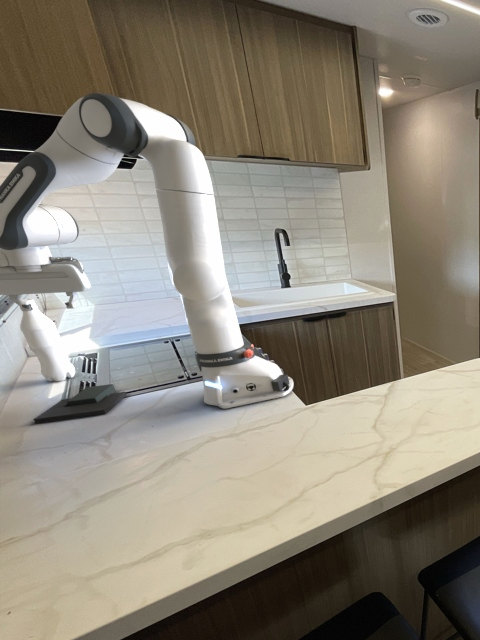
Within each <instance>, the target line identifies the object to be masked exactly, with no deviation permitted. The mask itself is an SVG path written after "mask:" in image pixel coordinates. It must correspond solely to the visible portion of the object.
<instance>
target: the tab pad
mask: <svg viewBox="0 0 480 640" xmlns="http://www.w3.org/2000/svg"><path fill="white" fill-rule="evenodd" d="M112 393H117V391H116V388H115V386H114V384H113V383H110V384H102V385H94V386H93V385H92V386H86V387H85V388H84V389H82V390H81V391H79V392H78V393H77V394H75V395H74V396H73V397H71V398H69V399H70V400H68V401H67V403H68V406H75V405H83V404H91V403H99V402H102V401H103V400H104V399H105V398H107V397H108V396H109V395H110V394H112Z"/></svg>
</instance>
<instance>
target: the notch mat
mask: <svg viewBox="0 0 480 640" xmlns="http://www.w3.org/2000/svg"><path fill="white" fill-rule="evenodd" d="M125 397H127V392H126V391H119V392H115V393H112V394H110V395H109V396H108V397H107V398H105V399H104V400H103V401H102V402H99V403H91V404H83V405H75V406H68V403H67V401H68V400H70V399H71V398H63V399H61V400H59V401H58V402H56V403H55V404H53V405H51V406H50V407H49V408H48V409H46V410H44V412H41V413H40V414H39V415H38V416H36V417H35V418H34V419H33V422H34V423H35V424H42V423H49V422H56V421H64V420H71V419H78V418H85V417H92V416H100V415H106V414H107V413H109V412H110V411H111V410H112V409H113V408H114V407H115V406H116V405H118V404H119V403H120V402H121V401H122V400H123V399H125Z"/></svg>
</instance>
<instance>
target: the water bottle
mask: <svg viewBox="0 0 480 640" xmlns="http://www.w3.org/2000/svg"><path fill="white" fill-rule="evenodd" d="M22 300H23V301H24V302H25V303H26V304H31V307H32V308H33V310H31V311H22V317H21V320H20V324H19V326H20V327H19V328H20V331H21V332H22V334H23V336H24V339H25V340H26V343H27V345H28V348H29V350H30V351H31V352H32V354H34V355H35V356H36V358H37V360H38V361H39V365H40V373H41V375H42V376H43V378H44V379H46V381H48V382H54V381H56V382H63V381H65V380H66V379H67V378H69V379H72V378H74V377H75V375H76V368H75V365H74V364H73V363H72V362H71V361H70V360H69V359H68V356H67V355H66V352H65V342H64V340H62V338H61V335H60V333H59V331H58V329H57V326H56V324H55V322H54V321H53V320H52V319H50V318H49V317H48V316H47V315H45V314H44V313H43V312H41V310H40V309H39V306H38V305H37V304H36V302H35V299H33V298H26V299H22ZM19 309H20V310H21V308H20V307H19Z"/></svg>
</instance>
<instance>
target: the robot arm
mask: <svg viewBox="0 0 480 640" xmlns="http://www.w3.org/2000/svg"><path fill="white" fill-rule="evenodd" d="M124 155H125V156H128V157H130V158H136V157H140V158H142V159H143V160H144V161H146V163H148V165H149V166H150V168H151V171H152V174H153V181H154V186H155V192H156V198H157V204H158V208H159V214H160V219H161V225H162V231H163V239H164V240H163V241H164V247H165V248H164V249H165V255H166V262H167V268H168V275H169V280H170V283H171V285H172V287H173V288H174V290H175V291H176V292H177V293H178V294H179V295H180V300H181V304H182V308H183V311H184V316H185V320H186V325H187V328H188V330H189V331H188V332H189V335H190V338H191V341H192V344H193V347H194V349H195V350H194V357H195V362H196V365H197V368H198V369H199V372H201V377H202V382H203V394H204V395H203V402H204V403H205V404H207V405H209V406H214V407H219V408H221V409H223V410H225V409H226V410H227V409H230V408H234V407H235V408H236V407H240V406H245V405H249V404H255V403H259V402H264V401H268V400H274V399H278V398H279V399H280V398H282V397H285V396H287V395H289V394H290V393H291V392H292V391H293V389H294V380H293V378H292V377H290V376H288V374H283V372H282V370H281V368H280V366H278V364H276V363H275V362H272V361H269V360H267V359H265V358H262V357H260V356H258V355H256V352H255V347H254V344H253V343H252V344H251V345H250V344H247V343H245V342H244V339H243V335H242V332H241V328H240V323H239V320H238V316H237V312H236V309H235V305H234V301H233V297H232V294H231V293H232V292H231V290H230V286H229V281H228V278H227V274H226V269H225V268H226V267H225V261H224V254H223V246H222V240H221V234H220V228H219V227H220V226H219V220H218V213H217V206H216V200H215V193H214V186H213V183H212V178H211V174H210V171H209V167H208V163H207V161H206V159H205V157H204V154H203V152H202V151H201V150H200V149H199V148H198V147H197V143H196V138H195V136H194V133H193V131H192V130H191V128H190V127H189V125H187V124H186V123H185V122H183V121H182V120H180V119H179V118H177V117H175V116H173V115H171V114H169V113H164V112H162V111H160V110H158V109H155V108H154V107H153V108H152V107H150V106H148V105H146V104H144V103H141V102H138V101H135V100H131V99H126V98H122V97H118V96H117V95H114V94H110V93H104V92H103V93H102V92H92V93H88V94H86V95H85V96H82V97H80V98H78V99H77V100H76V101H75V102H74V103H73V104H72V105H71V106H70V107H69V108H68V109H67V110H66V111H65V113H64V114H63V116H62V117H61V119H60V120H59V122H58V123H57V126H56V128H55V130H54V131H53V133H52V134H51V136H49V138H47V140H46V141H45V142H44V143H43V144H42V145H40V147H38V148H37V149H35V150H33V151H32V152H30V153H29V154H27V155H26V156H24V157H23V158H22V159H21V160H20V161H18V163H17V164H16V165H15V166H14V167H13V169H11V171H10V172H9V173H8V174H7V176H6V178H5V179H4V180H3V181H2V183H0V296H8V297H9V300H11V301H12V302H14V304H16V305H17V306H19V309H20V308H21V309H20V311H21V312H23V311H31V310H33V308H32V307H31V304H26V303H25V302H24V301H23V300H24V299H22V298H23V295H38V294H40V295H41V294H59V293H60V294H61V293H65V295H66V296H67V297H69V298H68V301H66V302H64V305H65V307H66V309H67V310H71V309H73V310H74V309H77V308H78V305H77V303H76V301H77V298H78V293H80V292H81V293H82V292H87V291H90V289H91V288H92V283H91V281H90V279H89V278H88V276H87V274H86V272H85V268H84V265H83V263H82V262H81V261H80V260H79V259H77V258H74V257H73V256H53V254H52V251H51V249H50V248H49V246H59V245H60V246H61V245H67V244H70V243H74V242H75V241H76V240H77V239H78V237H79V233H80V229H79V226H78V222H77V220H76V219H75V218H74V216H73V215H72V214H71V213H70V212H69V211H67V210H66V209H65V208H62V207H60V206H54V205H51V204H48V203H43V200H44V199H45V198H46V197H47V196H49V194H51V193H53V192H56V191H59V190H62V189H66V188H71V187H72V188H73V187H78V186H86V185H94V184H99V183H102V182H104V181H106V180H107V179H108V178H110V177H111V176H112V175H113V174H114V173H115V171H116V170H117V168H118V166H119V165H120V162H121V161H122V159H123V158H124Z"/></svg>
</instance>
